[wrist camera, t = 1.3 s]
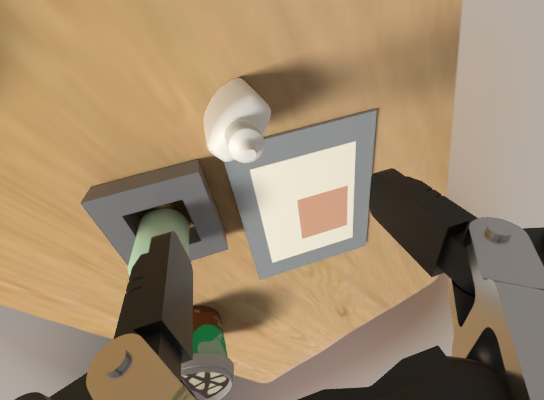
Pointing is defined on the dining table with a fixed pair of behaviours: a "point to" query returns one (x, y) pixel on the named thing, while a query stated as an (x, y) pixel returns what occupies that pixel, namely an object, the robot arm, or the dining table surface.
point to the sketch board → (307, 193)
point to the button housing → (151, 193)
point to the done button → (159, 231)
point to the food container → (208, 356)
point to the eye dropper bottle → (236, 122)
